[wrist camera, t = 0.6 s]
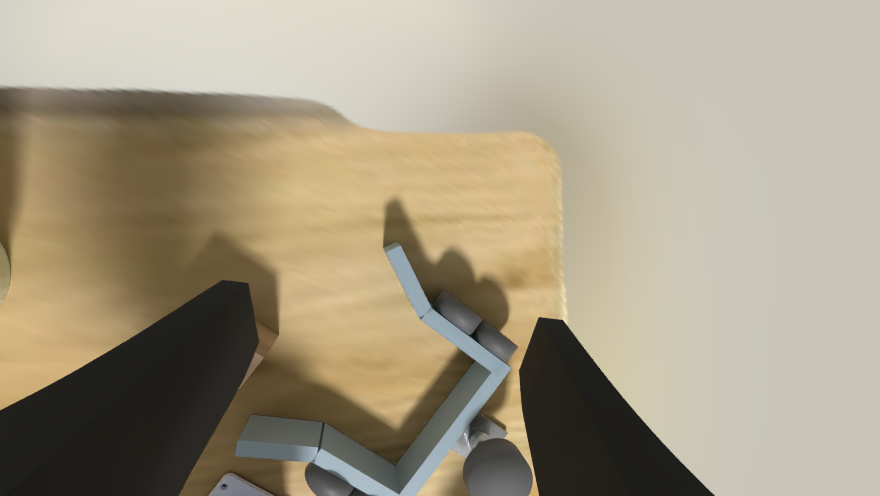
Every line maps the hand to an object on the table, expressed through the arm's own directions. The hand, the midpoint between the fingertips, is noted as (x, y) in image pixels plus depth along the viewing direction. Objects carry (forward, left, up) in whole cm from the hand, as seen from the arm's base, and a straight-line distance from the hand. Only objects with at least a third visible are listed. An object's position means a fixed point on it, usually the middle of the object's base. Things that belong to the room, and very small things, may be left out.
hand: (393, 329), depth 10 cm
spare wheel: (-8, -18, -18) cm, 27 cm away
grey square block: (-8, -18, -22) cm, 30 cm away
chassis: (-8, -8, -22) cm, 25 cm away
